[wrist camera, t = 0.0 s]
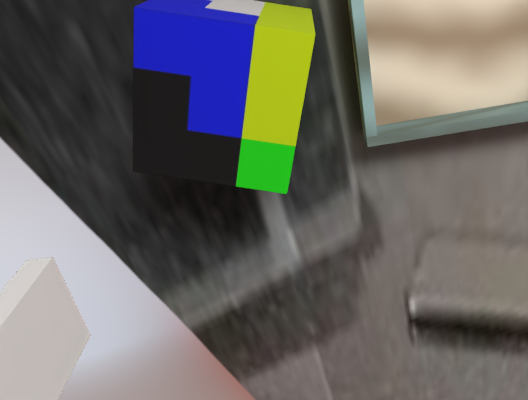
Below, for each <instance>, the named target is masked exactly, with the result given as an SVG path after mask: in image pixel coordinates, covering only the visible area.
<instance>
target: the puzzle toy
mask: <svg viewBox="0 0 528 400" xmlns="http://www.w3.org/2000/svg"><path fill="white" fill-rule="evenodd" d="M314 39H315V29H314V23H313V17H312V11H311V9H306V8H300V7H293V6H287V5H280V4H274V3H267V2H260V1H254V0H148V1H145V2H143V3H141V4H139V5H137V6H135V7H134V66H133V171H135V172H141V173H148V174H155V175H162V176H169V177H175V178H182V179H189V180H196V181H202V182H209V183H216V184H223V185H229V186H236V187H243V188H250V189H257V190H263V191H270V192H277V193H284V194H287V191H288V185H289V180H290V174H291V168H292V163H293V157H294V152H295V146H296V140H297V135H298V129H299V124H300V118H301V112H302V107H303V101H304V95H305V90H306V84H307V79H308V73H309V67H310V62H311V56H312V51H313V45H314Z"/></svg>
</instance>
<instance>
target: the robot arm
mask: <svg viewBox="0 0 528 400" xmlns="http://www.w3.org/2000/svg"><path fill="white" fill-rule="evenodd" d="M90 336H91V335H90V333H89V331H88V329H87V327H86V325H85V322H84V320H83V318H82V316H81V314H80V312H79V310H78V308H77V306H76V304H75V302H74V300H73V298H72V296H71V294H70V291H69V289H68V287H67V285H66V283H65V281H64V279H63V277H62V275H61V273H60V271H59V269H58V267H57V265H56V263H55V260H54V258H53V257H49V258H43V259H35V260H28V261H26V262H25V263H24V264H23V265H22V266H21V268H20V269H19V270H18V271H17V273H16V274H15V275H14V276H13V277H12V279H11V280H10V281H9V282H8V283H7V285H6V286H5V287H4V288H3V290H2V291H1V292H0V400H58V398H59V396H60V394H61V392H62V390H63V388H64V386H65V384H66V382H67V380H68V378H69V376H70V375H71V372H72V371H73V369H74V367H75V365H76V363H77V361H78V359H79V357H80V355H81V353H82V351H83V349H84V347H85V345H86V343H87V341H88V339H89V337H90Z"/></svg>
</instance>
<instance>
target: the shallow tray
mask: <svg viewBox="0 0 528 400" xmlns="http://www.w3.org/2000/svg"><path fill="white" fill-rule="evenodd" d="M348 8H349V16H350V25H351V34H352V42H353V51H354V60H355V68H356V77H357V85H358V94H359V103H360V111H361V120H362V128H363V134H364V138H365V141H366V144H367V147H372V146H378V145H384V144H390V143H396V142H403V141H409V140H415V139H421V138H427V137H434V136H440V135H446V134H452V133H458V132H465V131H471V130H477V129H483V128H489V127H496V126H502V125H508V124H514V123H520V122H527V121H528V0H348Z"/></svg>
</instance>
